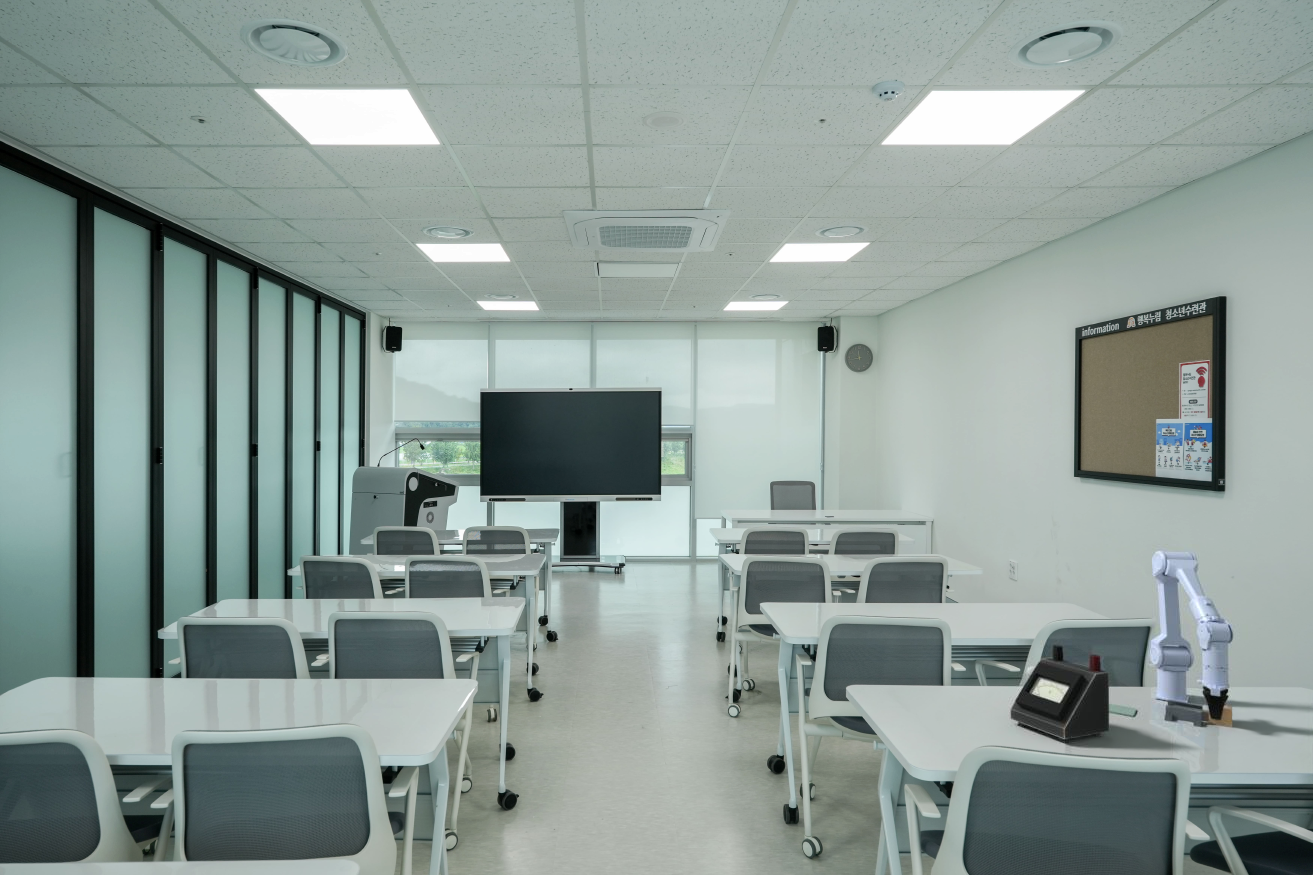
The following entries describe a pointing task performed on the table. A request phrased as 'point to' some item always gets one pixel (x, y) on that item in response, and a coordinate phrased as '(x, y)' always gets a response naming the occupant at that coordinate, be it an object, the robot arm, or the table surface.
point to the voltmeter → (1064, 698)
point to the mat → (1122, 710)
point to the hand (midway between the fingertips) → (1215, 716)
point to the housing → (1184, 712)
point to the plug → (1225, 719)
